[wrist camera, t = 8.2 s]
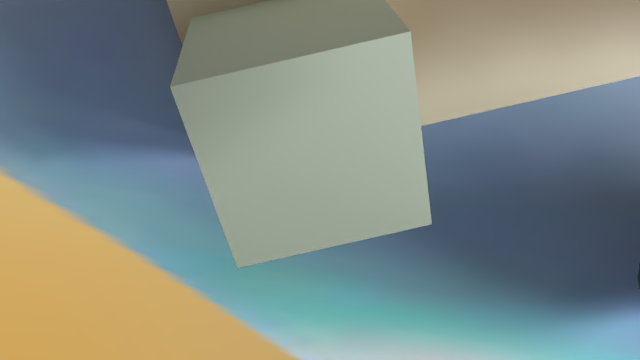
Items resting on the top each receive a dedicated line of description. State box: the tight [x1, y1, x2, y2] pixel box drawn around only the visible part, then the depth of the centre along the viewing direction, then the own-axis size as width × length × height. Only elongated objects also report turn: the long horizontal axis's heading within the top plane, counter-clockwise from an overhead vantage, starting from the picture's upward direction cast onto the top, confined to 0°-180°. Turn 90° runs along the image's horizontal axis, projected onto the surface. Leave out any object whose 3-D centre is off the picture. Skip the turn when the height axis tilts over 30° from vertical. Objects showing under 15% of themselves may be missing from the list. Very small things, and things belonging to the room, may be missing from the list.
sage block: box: [170, 0, 432, 268], centre depth 15 cm, size 5×5×5 cm
